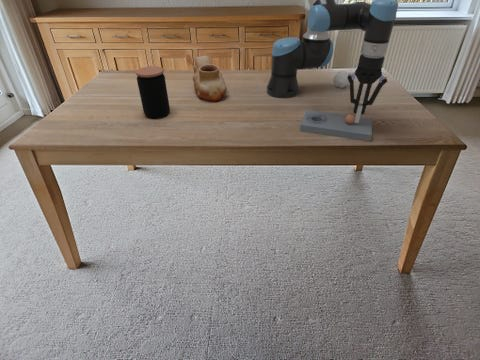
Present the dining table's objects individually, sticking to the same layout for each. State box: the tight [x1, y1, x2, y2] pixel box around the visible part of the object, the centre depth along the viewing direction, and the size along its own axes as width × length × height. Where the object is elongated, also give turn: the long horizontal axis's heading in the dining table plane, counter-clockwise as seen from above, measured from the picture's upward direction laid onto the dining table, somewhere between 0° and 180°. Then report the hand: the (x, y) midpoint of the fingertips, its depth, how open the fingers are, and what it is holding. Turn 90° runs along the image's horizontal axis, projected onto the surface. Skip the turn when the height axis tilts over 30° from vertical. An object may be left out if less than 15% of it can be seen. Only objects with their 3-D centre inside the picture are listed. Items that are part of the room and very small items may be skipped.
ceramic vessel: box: [192, 55, 228, 103], centre depth 143 cm, size 14×26×15 cm, turn 19°
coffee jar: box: [134, 65, 171, 120], centre depth 123 cm, size 11×11×18 cm
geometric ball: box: [333, 70, 350, 89], centre depth 149 cm, size 8×8×8 cm
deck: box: [299, 109, 373, 142], centre depth 116 cm, size 25×14×2 cm, turn 71°
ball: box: [345, 114, 355, 124], centre depth 113 cm, size 3×3×3 cm
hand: (356, 121), depth 113 cm, fingers closed
